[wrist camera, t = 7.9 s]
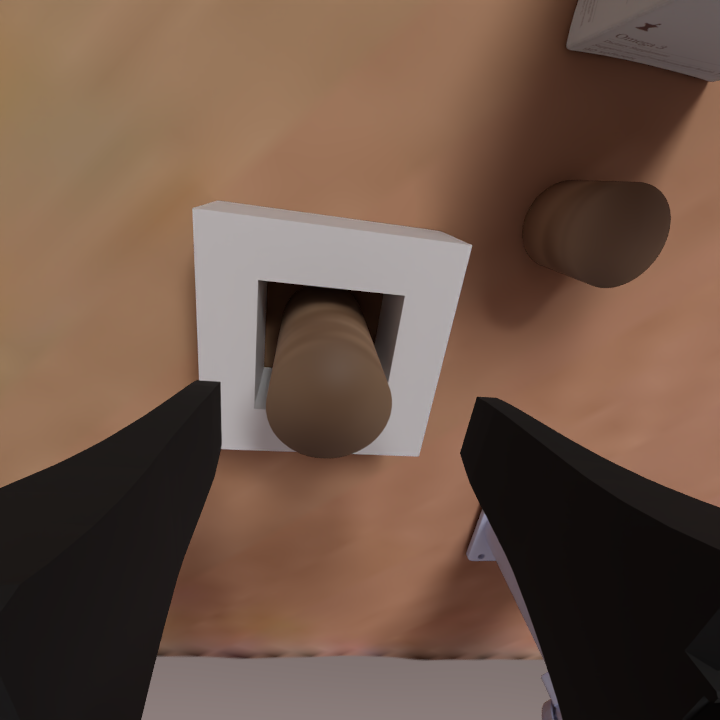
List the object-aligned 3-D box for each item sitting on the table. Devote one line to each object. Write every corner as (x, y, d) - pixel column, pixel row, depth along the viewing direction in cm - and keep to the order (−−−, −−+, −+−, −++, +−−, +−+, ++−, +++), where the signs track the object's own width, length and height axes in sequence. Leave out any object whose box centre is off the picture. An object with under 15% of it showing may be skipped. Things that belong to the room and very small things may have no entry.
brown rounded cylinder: (368, 287, 19) (402, 357, 12) (356, 361, 21) (380, 460, 13) (285, 278, 18) (269, 344, 11) (280, 354, 20) (262, 455, 13)
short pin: (615, 186, 18) (688, 190, 15) (583, 271, 20) (642, 292, 16) (538, 173, 18) (595, 174, 14) (511, 262, 19) (557, 282, 16)
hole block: (440, 230, 18) (472, 245, 15) (401, 411, 22) (418, 456, 19) (217, 200, 17) (192, 207, 13) (220, 400, 21) (201, 448, 17)
